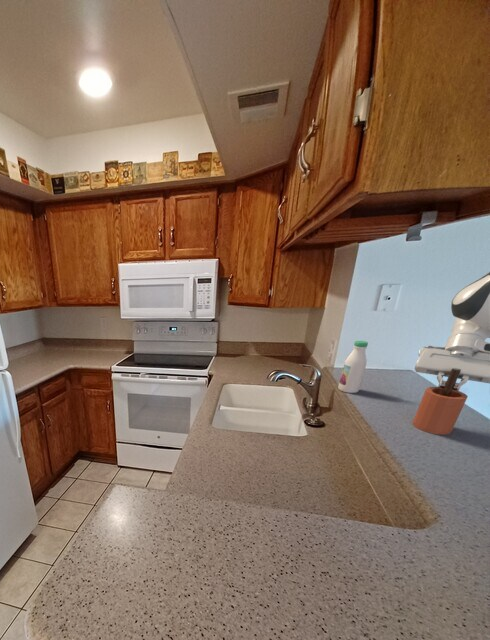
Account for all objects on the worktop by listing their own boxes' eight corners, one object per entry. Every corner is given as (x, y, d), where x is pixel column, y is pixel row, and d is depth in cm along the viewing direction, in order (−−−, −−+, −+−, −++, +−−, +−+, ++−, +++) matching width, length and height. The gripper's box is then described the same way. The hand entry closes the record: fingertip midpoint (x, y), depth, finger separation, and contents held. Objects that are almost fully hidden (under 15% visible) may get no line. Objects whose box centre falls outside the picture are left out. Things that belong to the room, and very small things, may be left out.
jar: (444, 423, 109) (460, 389, 103) (456, 436, 101) (473, 400, 95) (409, 418, 112) (422, 385, 107) (417, 431, 104) (431, 396, 98)
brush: (443, 413, 105) (463, 368, 98) (445, 418, 102) (466, 371, 95) (428, 411, 107) (447, 366, 100) (430, 415, 104) (449, 369, 97)
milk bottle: (359, 389, 137) (373, 341, 128) (357, 394, 132) (371, 344, 122) (339, 385, 141) (352, 338, 132) (336, 390, 136) (349, 342, 126)
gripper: (423, 339, 105) (409, 376, 103) (510, 349, 94) (496, 390, 91) (420, 350, 110) (406, 385, 108) (502, 360, 99) (488, 400, 97)
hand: (448, 388), depth 100 cm, fingers closed on brush, 2 cm apart
